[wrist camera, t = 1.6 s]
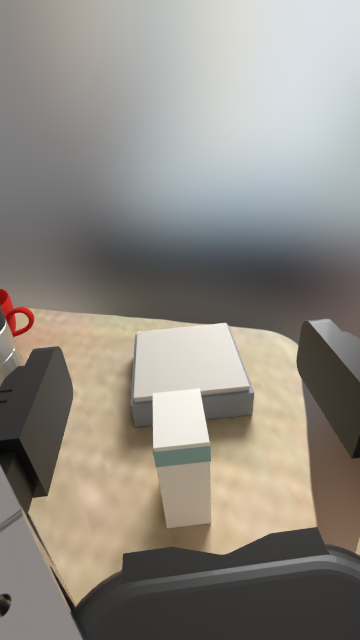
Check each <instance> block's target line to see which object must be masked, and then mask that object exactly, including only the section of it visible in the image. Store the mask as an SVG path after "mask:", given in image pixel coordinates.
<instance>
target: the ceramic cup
mask: <svg viewBox="0 0 360 640" xmlns="http://www.w3.org/2000/svg"><path fill="white" fill-rule="evenodd" d="M0 305H1V309H2V311H3V314H4V316H5V319H6V321H7V323H8V326H9V328H10V330H11V333H12V335H13V337H15V336H18V335H21V334H23V333H25V332H27V331H28V330H29V329H30V328H31V327H32V325H33V323H34V315H33V313H32V312H31V311H30V310H29V309H27V308H24V307H17V308H14V309H13V306H12V302H11V299H10V296H9V294H8V293H7V292H6V291H5V290H3V289H0ZM15 313H24V314H25V315H27V317H28V318H29V323H28V325H27V326H26V327H25V328H23V329H20V330H17V331H15V329H16V321H15Z"/></svg>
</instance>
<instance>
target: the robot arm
mask: <svg viewBox="0 0 360 640" xmlns="http://www.w3.org/2000/svg"><path fill="white" fill-rule="evenodd" d="M297 368H298V372H299V374H300V376H301V378H302V380H303V381H304V383H305V384H306V386H307V387H308V389H309V391H310V392H311V394H312V396H313V397H314V399H315V400H316V402H317V404H318V405H319V407H320V408H321V410H322V412H323V413H324V415H325V417H326V418H327V420H328V421H329V423H330V425H331V426H332V428H333V429H334V431H335V432H336V434H337V436H338V437H339V439H340V441H341V442H342V444H343V446H344V447H345V449H346V450H347V452H348V454H349V455H350V457H351V458H352V459H353V458H360V339H359V338H357V337H355V336H353V335H351V334H349V333H348V332H342V331H341V330H340V329H339V328H338V327H337V326H336V325H335V324H334V323H333V322H332V321H331V320H330V319H321V320H311V321H305V322H304V323H303V325H302V328H301V334H300V341H299V347H298V353H297ZM72 400H73V386H72V381H71V378H70V375H69V372H68V368H67V365H66V362H65V359H64V356H63V353H62V350H61V348H60V347H58V346H57V347H47V348H38V349H33V351H32V352H31V354H30V356H29V358H28V360H27V362H26V364H25V363H24V361H23V359H22V356H21V354H20V352H19V349H18V347H17V344H16V342H15V340H14V337H13V335H12V333H11V330H10V328H9V326H8V323H7V321H6V319H5V316H4V314H3V311H2V309H1V305H0V640H360V539H359V543H358V546H357V550H356V553H354V552H351V551H349V550H347V549H344V548H341V547H338V546H334V545H331V544H327V543H324V542H323V540H322V537H321V535H320V533H319V530H318V528H317V527H315V528H307V529H300V530H293V531H285V532H278V533H271V534H269V535H266V536H264V537H262V538H260V539H258V540H256V541H254V542H252V543H250V544H248V545H245V546H243V547H241V548H239V549H237V550H235V551H233V552H231V553H228V554H225V555H218V554H212V553H206V552H200V551H193V550H187V549H181V548H175V547H168V548H161V549H154V550H147V551H139V552H132V553H125V554H123V567H122V570H121V571H119V572H117V573H115V574H113V575H112V576H110V577H108V578H107V579H105V580H104V581H102V582H101V583H100V584H98V585H97V586H96V587H95V588H94V589H92V590H91V591H90V592H89V593H88V594H87V595H86V596H85V597H84V598H83V599H82V600H81V601H80V602H79V603H78V605H77V606H76V604H75V602H74V600H73V598H72V596H71V594H70V592H69V591H68V589H67V587H66V585H65V583H64V581H63V579H62V578H61V576H60V574H59V572H58V570H57V568H56V566H55V564H54V562H53V560H52V558H51V556H50V554H49V552H48V550H47V548H46V546H45V544H44V542H43V540H42V538H41V536H40V534H39V532H38V530H37V528H36V526H35V524H34V522H33V520H32V518H31V516H30V514H29V513H28V511H29V508H30V504H31V501H32V498H35V497H43V496H48V492H49V489H50V485H51V481H52V477H53V473H54V469H55V466H56V462H57V458H58V454H59V450H60V447H61V443H62V439H63V435H64V431H65V427H66V424H67V420H68V416H69V412H70V408H71V405H72Z"/></svg>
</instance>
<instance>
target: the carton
mask: <svg viewBox="0 0 360 640" xmlns="http://www.w3.org/2000/svg"><path fill="white" fill-rule="evenodd" d="M153 454H154V460H155V465H156V467H157V473H158V479H159V485H160V490H161V496H162V502H163V508H164V514H165V520H166V525H167V528H175V527H184V526H192V525H201V524H209V523H211V489H210V461H211V454H210V442H209V436H208V431H207V425H206V420H205V414H204V409H203V403H202V398H201V393H200V388H198V389H188V390H178V391H169V392H159V393H153Z"/></svg>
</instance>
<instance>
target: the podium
mask: <svg viewBox="0 0 360 640" xmlns="http://www.w3.org/2000/svg"><path fill="white" fill-rule="evenodd" d="M198 388H200V393H201V398H202V403H203V409H204V414H205V420H209V419H218V418H228V417H237V416H246V415H252V411H253V400H254V391H253V388H252V386H251V383H250V381H249V378H248V375H247V373H246V370H245V367H244V365H243V362H242V359H241V357H240V354H239V351H238V349H237V346H236V343H235V341H234V338H233V335H232V333H231V330H230V327H229V325H227V323H222V324H211V325H201V326H190V327H180V328H169V329H159V330H148V331H138V332H137V334H135V345H134V359H133V374H132V389H131V404H130V406H131V411H132V416H133V420H134V425H135V427H143V426H152V425H153V393H159V392H169V391H178V390H188V389H198Z"/></svg>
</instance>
